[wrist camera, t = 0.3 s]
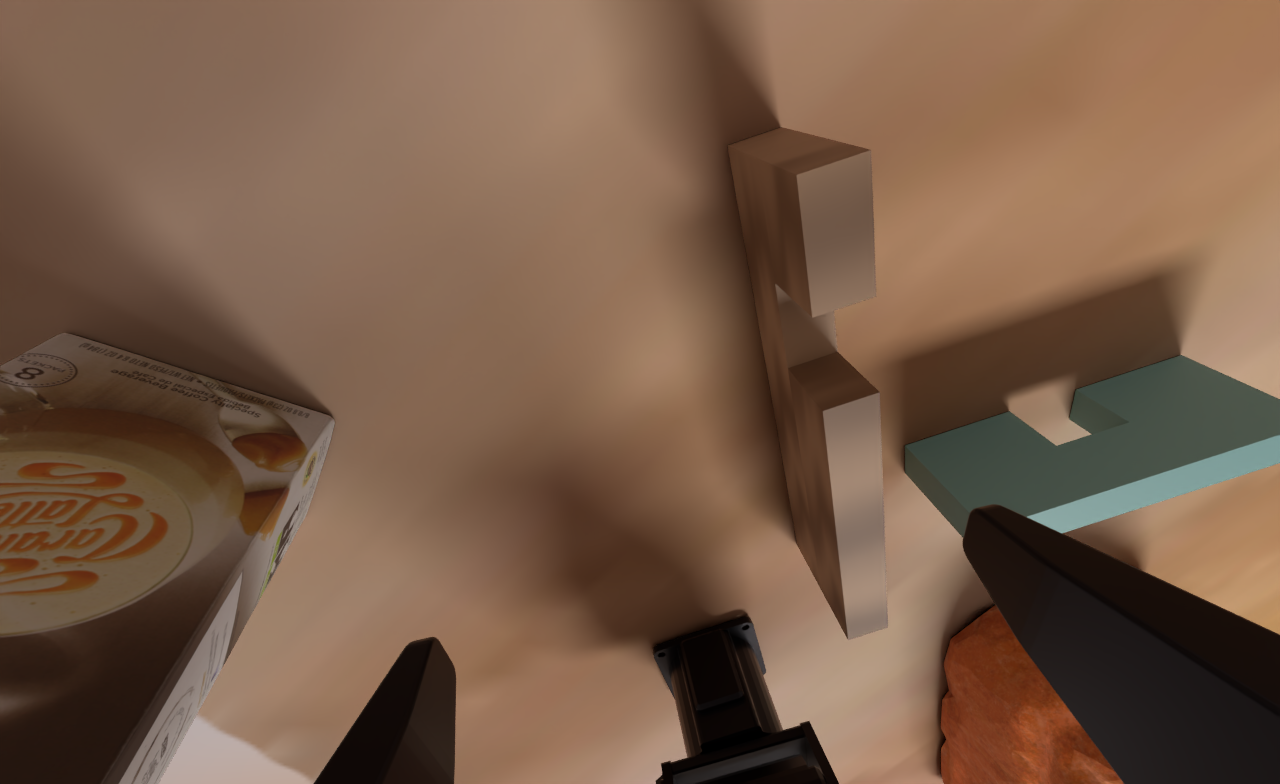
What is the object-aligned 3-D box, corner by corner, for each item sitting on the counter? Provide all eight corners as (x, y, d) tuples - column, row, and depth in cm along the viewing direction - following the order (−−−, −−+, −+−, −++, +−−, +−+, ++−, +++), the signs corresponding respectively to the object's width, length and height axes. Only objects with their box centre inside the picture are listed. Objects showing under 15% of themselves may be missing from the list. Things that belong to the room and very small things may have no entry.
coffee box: (341, 411, 22) (11, 985, 8) (306, 519, 24) (7, 1094, 11) (55, 324, 18) (-1335, 1062, 5) (48, 460, 21) (-871, 1197, 7)
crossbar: (1181, 355, 27) (1325, 420, 22) (1170, 385, 29) (1306, 454, 24) (905, 445, 28) (986, 529, 23) (905, 472, 29) (982, 559, 24)
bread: (932, 787, 54) (1032, 970, 43) (939, 613, 37) (1107, 843, 26) (1079, 739, 54) (1218, 912, 43) (1154, 543, 37) (1415, 745, 26)
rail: (830, 534, 30) (887, 627, 25) (797, 545, 31) (848, 640, 25) (781, 127, 19) (871, 150, 14) (727, 145, 19) (796, 174, 14)
